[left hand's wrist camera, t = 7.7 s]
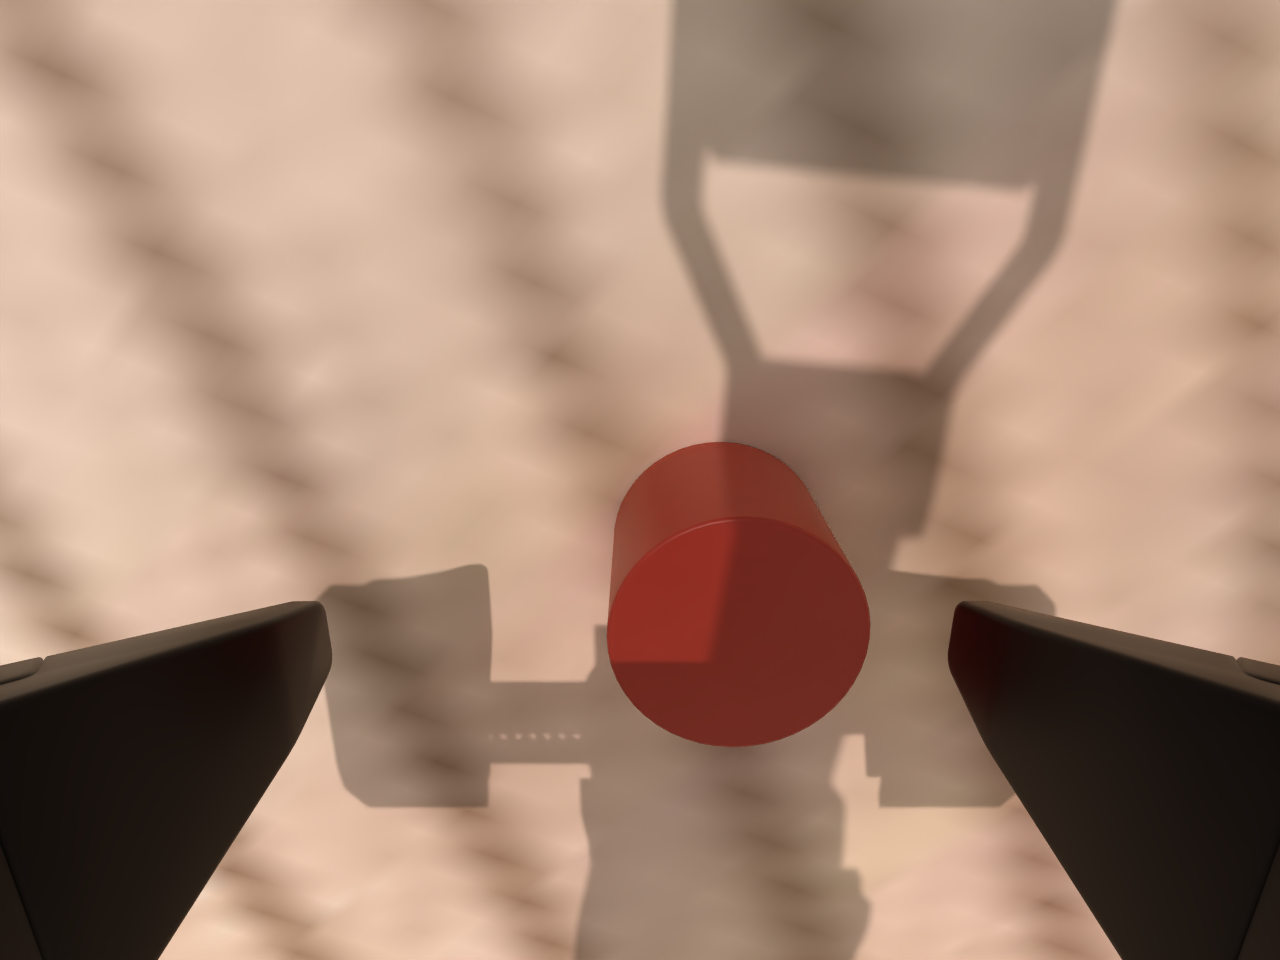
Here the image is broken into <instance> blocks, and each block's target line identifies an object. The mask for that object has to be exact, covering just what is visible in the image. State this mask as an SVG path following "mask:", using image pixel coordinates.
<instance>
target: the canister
mask: <svg viewBox="0 0 1280 960" xmlns="http://www.w3.org/2000/svg"><path fill="white" fill-rule="evenodd" d="M869 639H870V616H869V608H868V604H867V600H866V596H865V593H864V590H863V588H862V586H861V583H860V581H859V579H858V577H857V575H856V574H855V572H854V570H853V569H852V567H851V565H850V563H849V562H848V560H847V558H846V556H845V555H844V553H843V551H842V549H841V548H840V546H839V544H838V542H837V541H836V539H835V537H834V535H833V534H832V532H831V530H830V528H829V527H828V525H827V523H826V522H825V520H824V518H823V516H822V515H821V513H820V511H819V509H818V508H817V506H816V504H815V502H814V501H813V499H812V497H811V495H810V494H809V492H808V490H807V489H806V487H805V486H804V484H803V482H802V481H801V480H800V479H799V478H798V476H797V475H796V474H795V473H794V472H793V471H792V470H791V469H790V468H789V467H788V466H786V465H785V464H784V463H783V462H781V461H780V460H778V459H777V458H775V457H774V456H772V455H770V454H768V453H766V452H764V451H762V450H759V449H756V448H753V447H750V446H746V445H741V444H737V443H726V442H714V443H704V444H698V445H693V446H690V447H686V448H683V449H680V450H678V451H675V452H673V453H671V454H669V455H667V456H665V457H664V458H662V459H660V460H659V461H657V462H655V463H654V464H653V465H652V466H650V467H649V468H648V469H647V470H646V471H644V472H643V474H642V475H641V476H640V477H639V478H638V479H637V480H636V481H635V482H634V484H633V485H632V486H631V488H630V489H629V491H628V492H627V494H626V496H625V498H624V500H623V501H622V504H621V506H620V509H619V512H618V514H617V519H616V524H615V531H614V544H613V558H612V571H611V585H610V598H609V612H608V625H607V646H608V654H609V658H610V662H611V666H612V669H613V671H614V674H615V676H616V679H617V681H618V683H619V684H620V686H621V688H622V690H623V691H624V693H625V694H626V695H627V697H628V698H629V699H630V701H631V702H632V703H633V704H634V706H635V707H636V708H637V709H639V710H640V711H641V712H642V713H643V714H644V715H645V716H646V717H647V718H649V719H650V720H651V721H653V722H654V723H655V724H656V725H658V726H660V727H662V728H663V729H665V730H667V731H669V732H670V733H673V734H675V735H677V736H680V737H682V738H684V739H688V740H691V741H694V742H698V743H702V744H708V745H713V746H725V747H741V746H753V745H759V744H765V743H769V742H773V741H776V740H780V739H783V738H785V737H788V736H790V735H793V734H795V733H797V732H799V731H801V730H803V729H805V728H807V727H809V726H810V725H812V724H813V723H815V722H816V721H818V720H819V719H821V718H822V717H824V716H825V715H826V714H827V713H828V712H829V711H831V710H832V709H833V708H834V707H835V706H836V705H837V704H838V703H839V702H840V701H841V699H842V698H843V697H844V696H845V695H846V693H847V692H848V691H849V689H850V688H851V686H852V685H853V684H854V682H855V680H856V678H857V676H858V674H859V672H860V670H861V668H862V665H863V662H864V660H865V657H866V654H867V649H868V644H869Z"/></svg>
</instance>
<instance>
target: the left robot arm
mask: <svg viewBox="0 0 1280 960" xmlns="http://www.w3.org/2000/svg"><path fill="white" fill-rule="evenodd" d="M331 664H332V649H331V642H330V636H329V630H328V623H327V617H326V612H325V609H324V606H323V605H322V604H321V603H320V602H317V601H293V602H288V603H283V604H279V605H275V606H270V607H266V608H261V609H257V610H252V611H248V612H243V613H239V614H234V615H230V616H225V617H221V618H216V619H212V620H208V621H203V622H199V623H194V624H190V625H185V626H181V627H176V628H172V629H167V630H163V631H158V632H154V633H149V634H145V635H141V636H136V637H132V638H127V639H123V640H118V641H114V642H109V643H105V644H100V645H96V646H91V647H87V648H83V649H78V650H74V651H69V652H65V653H60V654H56V655H51V656H47V657H46V658H45V659H44V661H43V659H42V658H40V657H37V658H33V659H28V660H24V661H19V662H15V663H10V664H6V665H1V666H0V960H158V959H159V957H160V956H161V954H162V952H163V951H164V949H165V948H166V946H167V945H168V943H169V942H170V940H171V938H172V937H173V935H174V934H175V932H176V931H177V929H178V927H179V926H180V924H181V923H182V921H183V920H184V918H185V916H186V915H187V913H188V912H189V910H190V909H191V907H192V906H193V904H194V902H195V901H196V899H197V898H198V896H199V895H200V893H201V891H202V890H203V888H204V887H205V885H206V884H207V882H208V880H209V879H210V877H211V876H212V874H213V873H214V871H215V869H216V868H217V866H218V865H219V863H220V862H221V860H222V859H223V857H224V855H225V854H226V852H227V851H228V849H229V848H230V846H231V844H232V843H233V841H234V840H235V838H236V837H237V835H238V833H239V832H240V830H241V829H242V827H243V826H244V824H245V823H246V821H247V819H248V818H249V816H250V815H251V813H252V812H253V810H254V808H255V807H256V805H257V804H258V802H259V801H260V799H261V797H262V796H263V794H264V793H265V791H266V790H267V788H268V786H269V785H270V783H271V782H272V780H273V779H274V777H275V776H276V774H277V772H278V771H279V769H280V768H281V766H282V765H283V763H284V761H285V760H286V758H287V757H288V755H289V753H290V752H291V750H292V748H293V747H294V745H295V743H296V741H297V739H298V737H299V735H300V733H301V731H302V729H303V727H304V725H305V723H306V721H307V719H308V716H309V714H310V712H311V710H312V708H313V706H314V704H315V702H316V699H317V697H318V695H319V693H320V691H321V689H322V687H323V685H324V683H325V680H326V678H327V676H328V674H329V671H330V668H331ZM948 664H949V668H950V672H951V674H952V676H953V678H954V680H955V683H956V685H957V687H958V689H959V691H960V693H961V695H962V697H963V700H964V702H965V704H966V706H967V708H968V710H969V712H970V714H971V716H972V719H973V721H974V723H975V725H976V727H977V729H978V731H979V733H980V735H981V737H982V739H983V741H984V743H985V745H986V747H987V748H988V750H989V752H990V753H991V755H992V757H993V758H994V760H995V761H996V763H997V765H998V766H999V768H1000V769H1001V771H1002V772H1003V774H1004V776H1005V777H1006V779H1007V780H1008V782H1009V783H1010V785H1011V786H1012V788H1013V790H1014V791H1015V793H1016V794H1017V796H1018V797H1019V799H1020V801H1021V802H1022V804H1023V805H1024V807H1025V808H1026V810H1027V811H1028V813H1029V815H1030V816H1031V818H1032V819H1033V821H1034V822H1035V824H1036V826H1037V827H1038V829H1039V830H1040V832H1041V833H1042V835H1043V837H1044V838H1045V840H1046V841H1047V843H1048V844H1049V846H1050V847H1051V849H1052V851H1053V852H1054V854H1055V855H1056V857H1057V858H1058V860H1059V862H1060V863H1061V865H1062V866H1063V868H1064V869H1065V871H1066V873H1067V874H1068V876H1069V877H1070V879H1071V880H1072V882H1073V884H1074V885H1075V887H1076V888H1077V890H1078V891H1079V893H1080V894H1081V896H1082V898H1083V899H1084V901H1085V902H1086V904H1087V905H1088V907H1089V909H1090V910H1091V912H1092V913H1093V915H1094V916H1095V918H1096V920H1097V921H1098V923H1099V924H1100V926H1101V927H1102V929H1103V931H1104V932H1105V934H1106V935H1107V937H1108V938H1109V940H1110V942H1111V943H1112V945H1113V946H1114V948H1115V949H1116V951H1117V952H1118V954H1119V956H1120V957H1121V959H1122V960H1280V666H1279V665H1274V664H1270V663H1265V662H1261V661H1256V660H1252V659H1247V658H1242V657H1240V658H1238V659H1237V660H1236V659H1235V658H1234V657H1233V656H1229V655H1225V654H1220V653H1216V652H1211V651H1207V650H1202V649H1198V648H1193V647H1189V646H1184V645H1180V644H1175V643H1171V642H1166V641H1162V640H1158V639H1153V638H1149V637H1144V636H1140V635H1135V634H1131V633H1126V632H1122V631H1117V630H1113V629H1108V628H1104V627H1099V626H1095V625H1090V624H1086V623H1081V622H1077V621H1073V620H1068V619H1064V618H1059V617H1055V616H1050V615H1046V614H1041V613H1037V612H1032V611H1028V610H1023V609H1019V608H1014V607H1010V606H1005V605H1001V604H997V603H992V602H987V601H963V602H960V603H959V604H958V605H957V606H956V609H955V612H954V617H953V623H952V630H951V636H950V642H949V649H948Z"/></svg>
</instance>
